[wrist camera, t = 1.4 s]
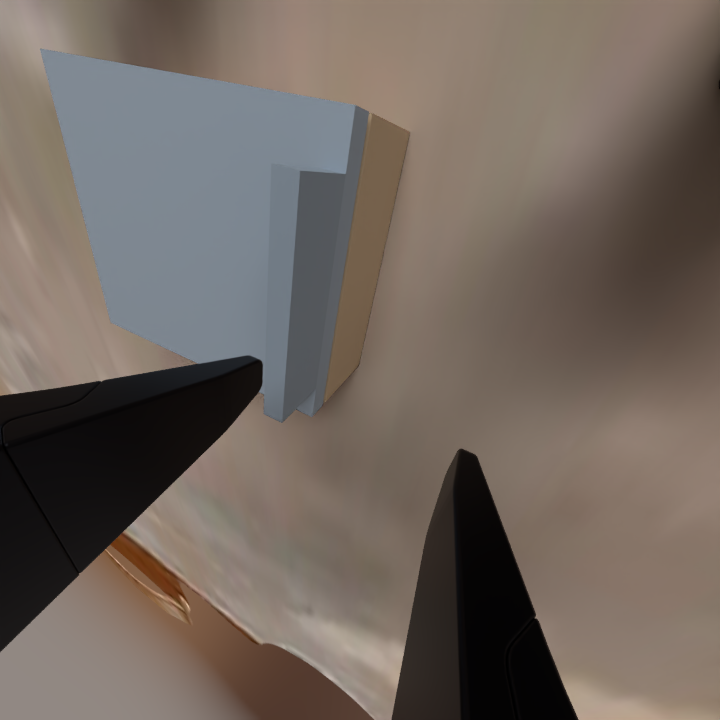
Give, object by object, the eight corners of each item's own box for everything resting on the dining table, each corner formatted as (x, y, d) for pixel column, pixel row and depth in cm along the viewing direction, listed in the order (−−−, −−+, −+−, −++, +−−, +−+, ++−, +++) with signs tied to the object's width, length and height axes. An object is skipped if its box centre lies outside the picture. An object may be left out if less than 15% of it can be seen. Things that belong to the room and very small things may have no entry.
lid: (369, 111, 12) (306, 80, 8) (322, 405, 19) (279, 452, 16) (69, 57, 16) (-55, 21, 12) (127, 316, 23) (60, 339, 20)
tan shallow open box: (409, 132, 16) (372, 113, 12) (358, 365, 23) (325, 402, 19) (166, 85, 20) (76, 59, 16) (189, 296, 27) (131, 315, 23)
